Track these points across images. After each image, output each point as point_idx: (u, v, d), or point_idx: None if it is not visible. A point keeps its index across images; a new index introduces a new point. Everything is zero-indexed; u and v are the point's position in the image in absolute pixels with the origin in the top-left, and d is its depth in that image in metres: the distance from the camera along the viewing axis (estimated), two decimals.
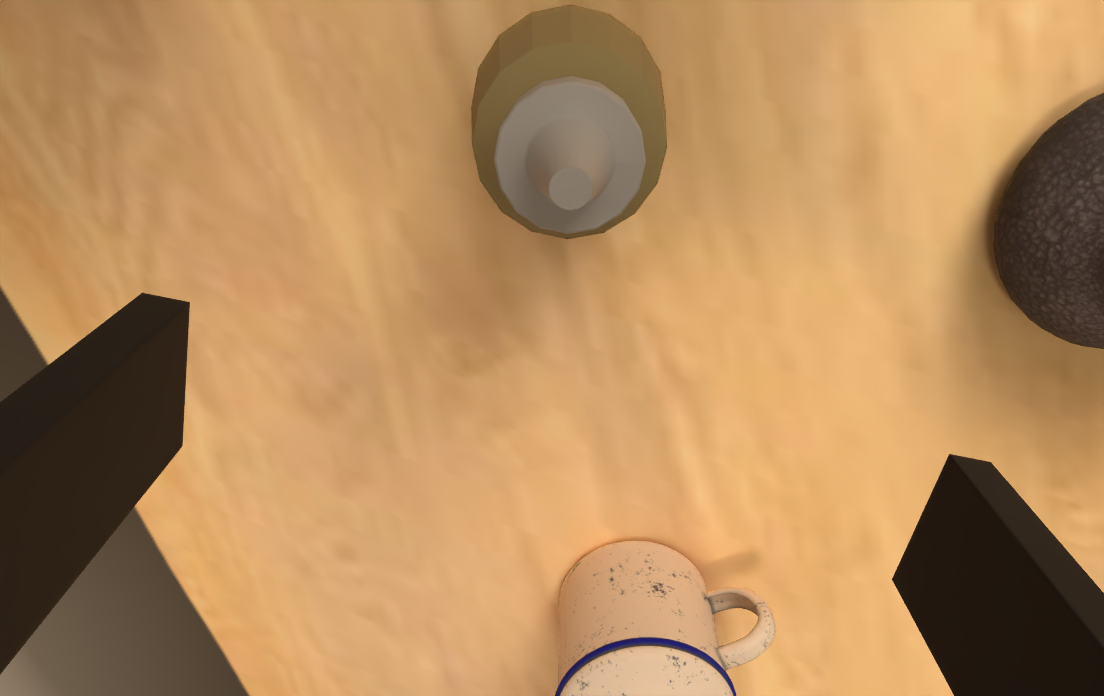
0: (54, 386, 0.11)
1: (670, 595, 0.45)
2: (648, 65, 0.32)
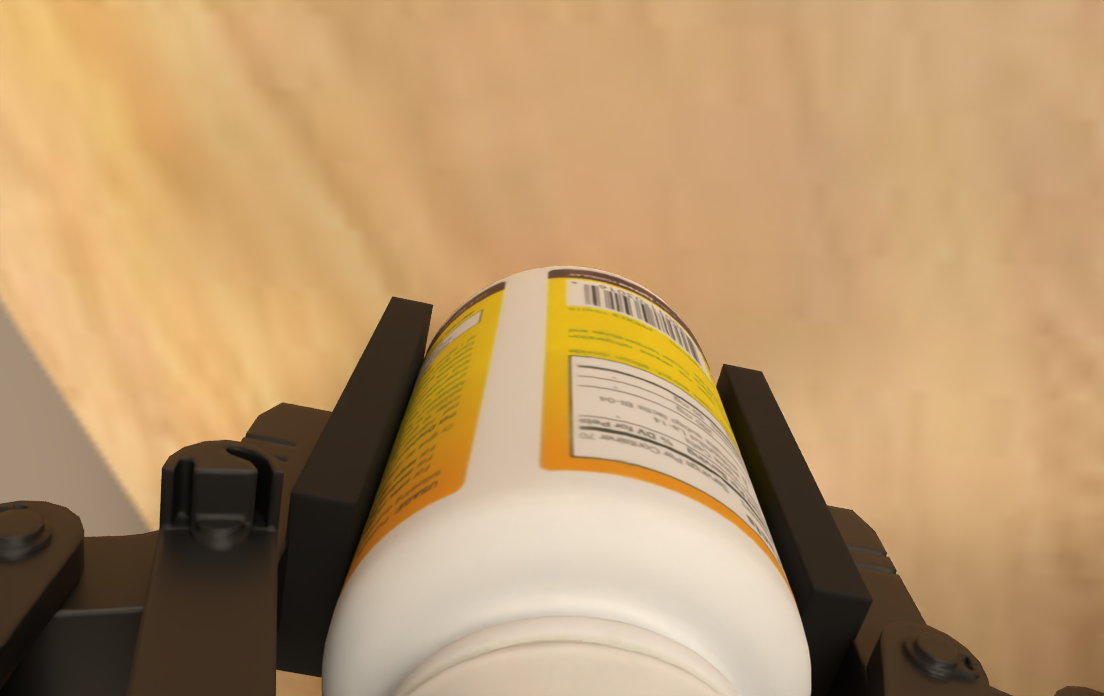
0: (375, 376, 0.13)
1: None
2: None
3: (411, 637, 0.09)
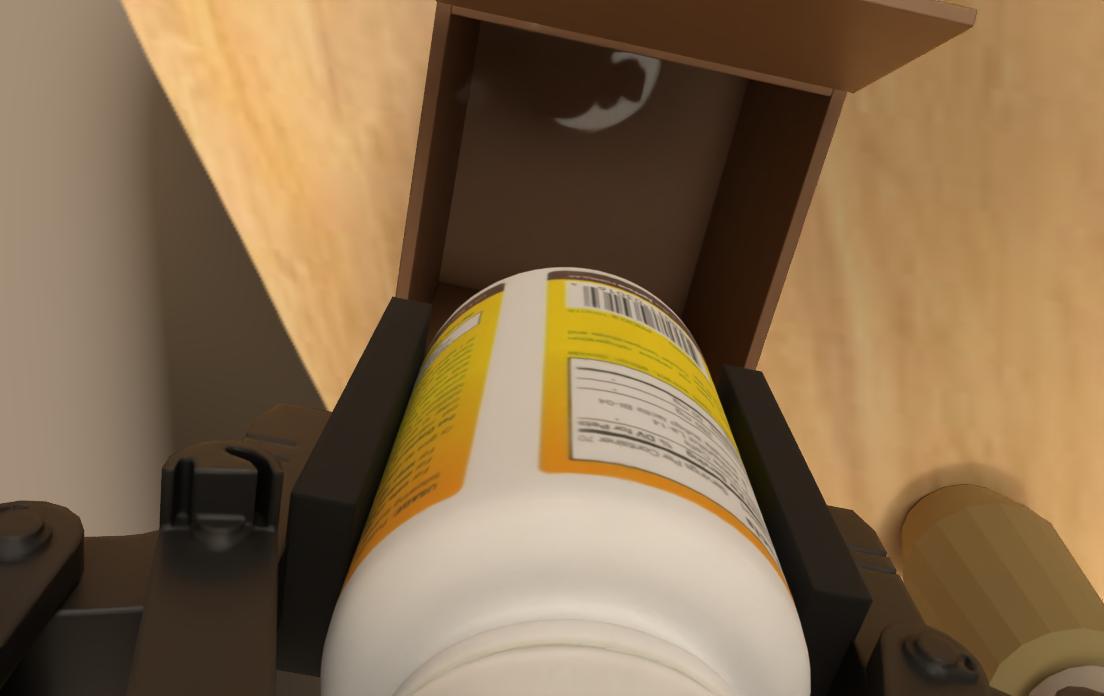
0: (375, 376, 0.13)
1: None
2: None
3: (410, 640, 0.09)
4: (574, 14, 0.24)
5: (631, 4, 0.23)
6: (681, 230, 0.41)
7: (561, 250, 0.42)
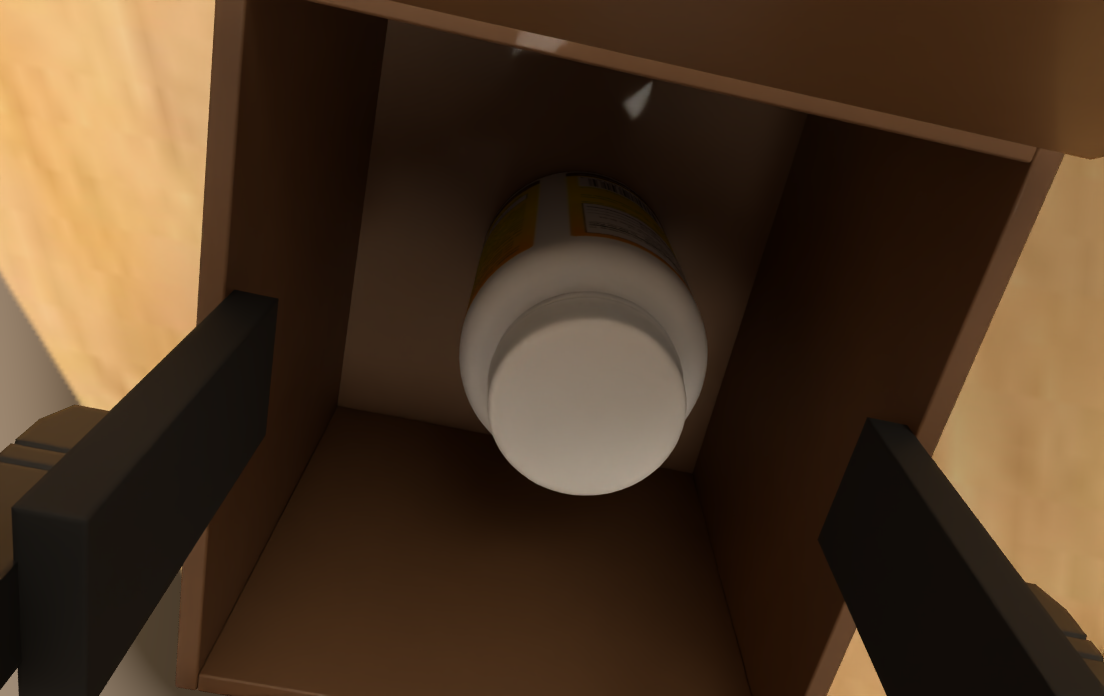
0: (175, 375, 0.12)
1: None
2: None
3: (510, 314, 0.18)
4: None
5: None
6: None
7: None
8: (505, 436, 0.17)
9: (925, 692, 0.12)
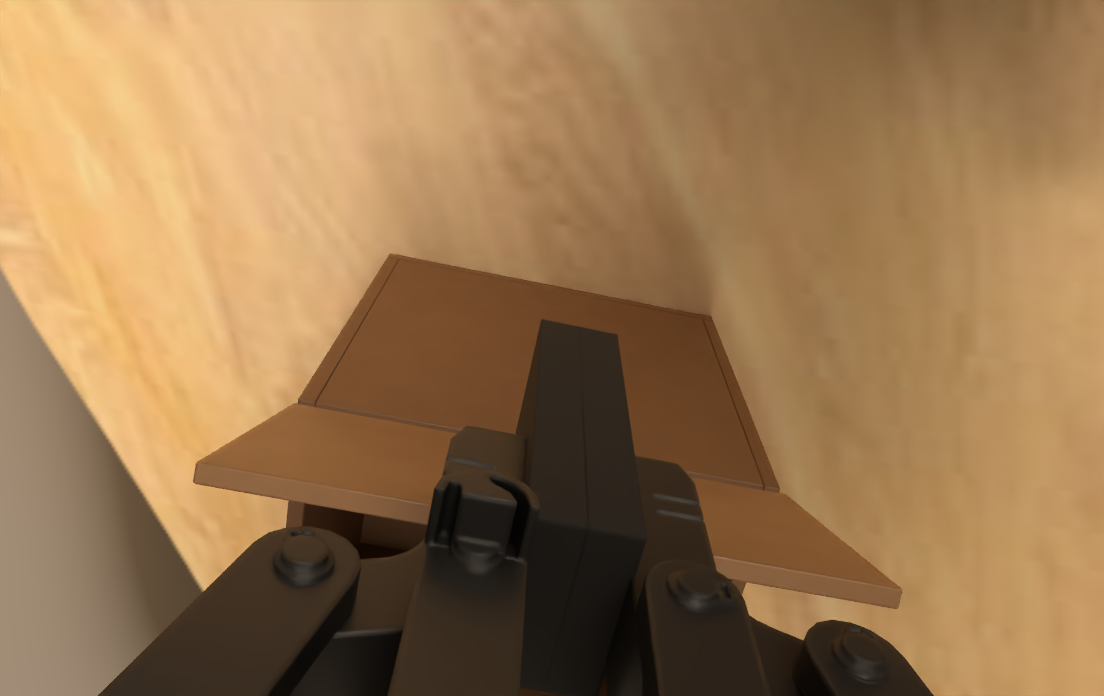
0: (557, 400, 0.14)
1: None
2: None
3: None
4: None
5: None
6: None
7: None
8: None
9: None
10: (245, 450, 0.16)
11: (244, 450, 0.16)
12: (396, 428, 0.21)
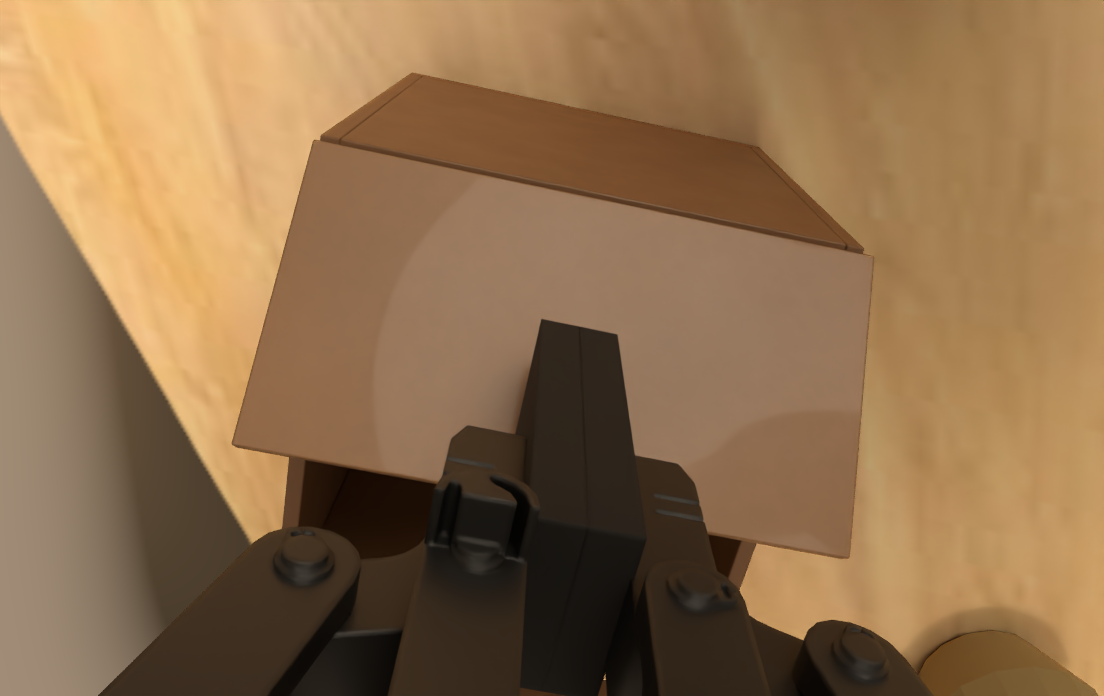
0: (556, 399, 0.14)
1: None
2: None
3: None
4: None
5: (527, 339, 0.19)
6: None
7: None
8: None
9: None
10: (270, 383, 0.18)
11: (269, 383, 0.18)
12: (428, 198, 0.19)
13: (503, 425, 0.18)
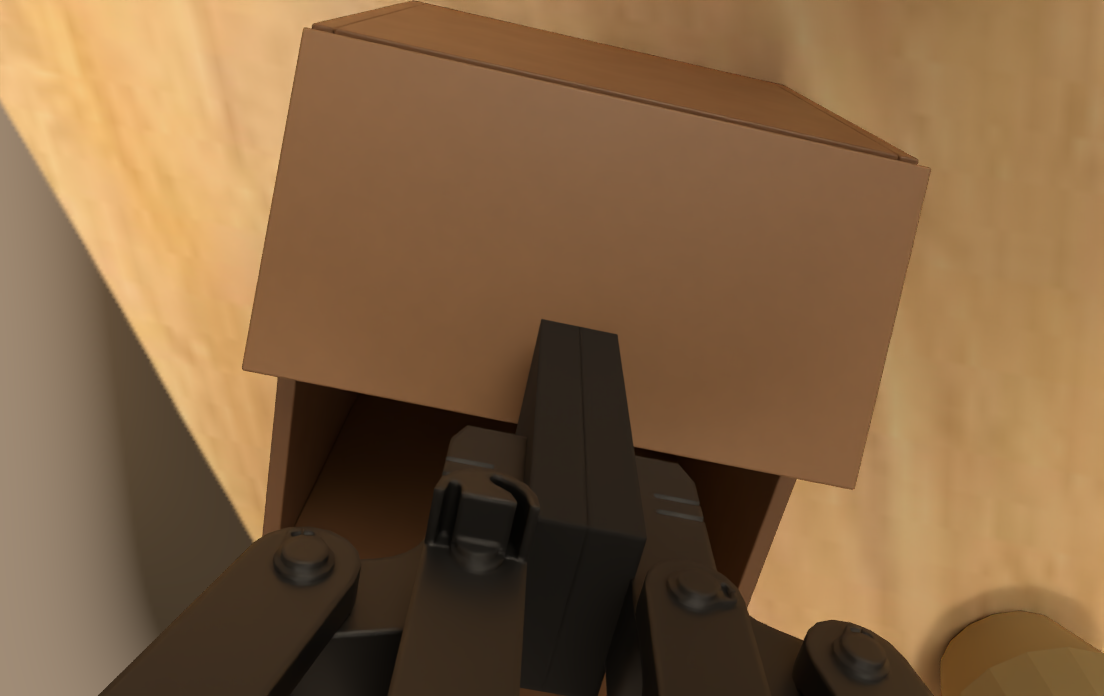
0: (557, 400, 0.14)
1: None
2: None
3: None
4: None
5: (539, 258, 0.18)
6: None
7: None
8: None
9: None
10: (275, 308, 0.17)
11: (274, 308, 0.17)
12: (433, 99, 0.17)
13: (513, 353, 0.18)
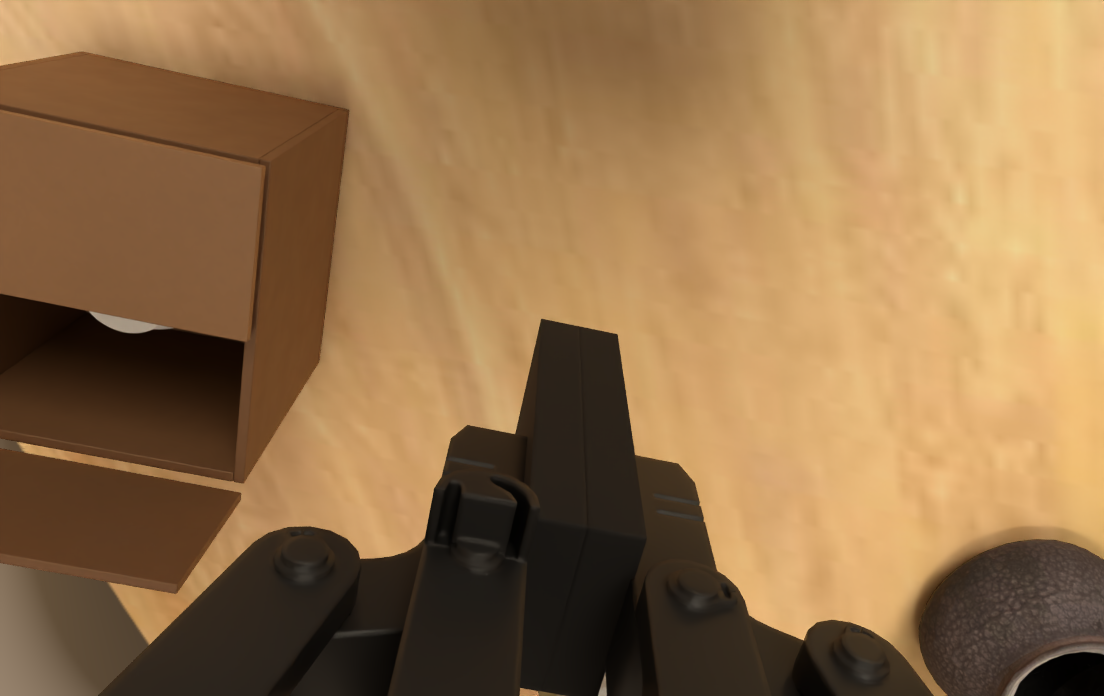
0: (557, 400, 0.14)
1: None
2: None
3: None
4: None
5: (53, 214, 0.32)
6: None
7: None
8: None
9: None
10: None
11: None
12: None
13: (44, 267, 0.32)
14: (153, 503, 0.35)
